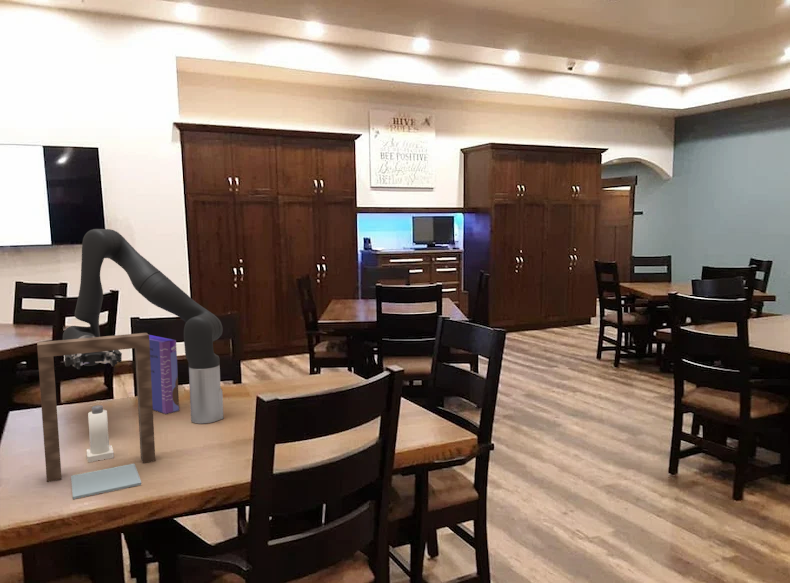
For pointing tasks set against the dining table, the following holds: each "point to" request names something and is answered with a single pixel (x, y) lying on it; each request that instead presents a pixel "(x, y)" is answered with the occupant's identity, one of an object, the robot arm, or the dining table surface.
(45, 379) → the archway
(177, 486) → the dining table surface
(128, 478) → the mat
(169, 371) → the cereal box
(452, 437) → the dining table surface
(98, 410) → the white tall cylinder
